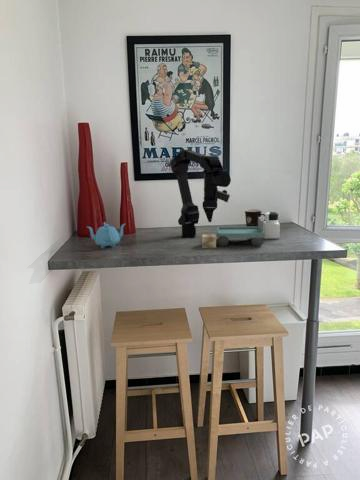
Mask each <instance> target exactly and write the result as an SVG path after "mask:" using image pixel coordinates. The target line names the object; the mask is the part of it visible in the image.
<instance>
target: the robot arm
mask: <svg viewBox="0 0 360 480" xmlns="http://www.w3.org/2000/svg"><path fill="white" fill-rule="evenodd" d="M191 162H193V163H196V164H199V166H200V168H201V169H203V170H202V172H200V173H201V175H203V201H202V209H203V211H204V214H205V216H206V218H207V221H208V223H212V222H213V215H214V211H215V210H217V208H218V200H220V201H223V202H225V203H228V202H229V200H230V197H231V195H230V194H229V193H228V191H227V190H226V189H223V190H222V191H221V190H219V189H218V187H220V188H221V187H222V188H226V187H227V188H228V186H230V184H231V182H232V179H231V175H230V174H228V170H224V167H223V165H222V164H223V163H221V160H220V158H219V156H217V155H205V154H203V153H199V152H196V151H194V150H192V149H182V150H181V151H180V152H179V153H178V154H176V155H175V156H173V157H172V159H171V160H170V162H169V165H170V169H171V171H172V173H173V174H174V176H175V177H176V179H177V184H178V189H179V193H180V196H181V197H180V198H181V202H182V207H181V210H180V217H179V218H178V220H177V223H178V225H179V226H181V238H195V237H197V227H196V226H195V225H196V224H197V225H198V224H199V220H200V211H199V206H198V205H197V204H196V205H195V204H194V203H193V198H192V193H191V189H190V184H189V180H188V175H187V174H188V171H189V166H190V164H191Z"/></svg>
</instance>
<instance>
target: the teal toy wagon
mask: <svg viewBox="0 0 360 480" xmlns="http://www.w3.org/2000/svg"><path fill="white" fill-rule="evenodd" d="M263 221H264V220H263V218H262V216H261V217H258V227H246V226H216V244H217V245H218V246H219V247H222V248H224V247H227V246H228V245H229V242H230V240H229V239H242V238H243V239H250V240H251V244H252V245H253V247H256V248H257V247H261V246H262V245H263V244H264V233H263Z"/></svg>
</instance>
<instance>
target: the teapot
mask: <svg viewBox="0 0 360 480" xmlns="http://www.w3.org/2000/svg"><path fill="white" fill-rule="evenodd" d="M125 225H126V223H122V224H121V225H120V229H119V230H120V231H118V230H117V229H116V228H115V227H114V226H112V225H110V224H109V223H107V222H106V221H104V222H103V226H100V227H99V228H98V229H97V231H96V232H95V234H94V230H93V228H92V227H91V226H87V228H88V230H89V232H90V238H91V239H92V240H93V241H94V242H95V244H97V245H98V246H100V249H105V248H106V247H108V246H109V247H110V246H111V248H116V247H117V246H116V245H117V244H119V243H120V241H121V238H122V237H123V236H124V227H125ZM104 247H105V248H104Z"/></svg>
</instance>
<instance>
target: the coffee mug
mask: <svg viewBox="0 0 360 480" xmlns="http://www.w3.org/2000/svg"><path fill="white" fill-rule="evenodd" d="M244 216H245V225H246V226H245V227H258V217H261V218H262V216H264V217H265V213H262V210H261V209H257V208H250V209H249V208H248V209H245V210H244ZM263 221H265V218H264V220H263Z"/></svg>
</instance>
